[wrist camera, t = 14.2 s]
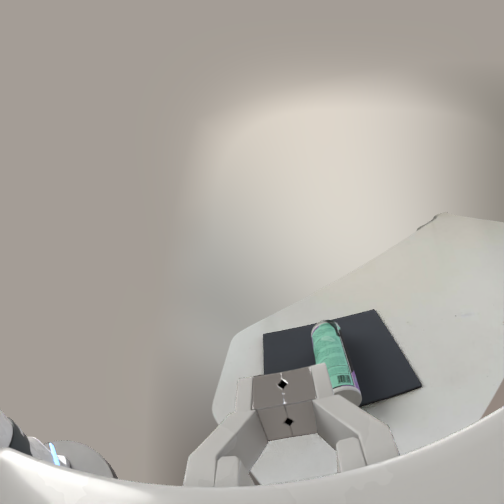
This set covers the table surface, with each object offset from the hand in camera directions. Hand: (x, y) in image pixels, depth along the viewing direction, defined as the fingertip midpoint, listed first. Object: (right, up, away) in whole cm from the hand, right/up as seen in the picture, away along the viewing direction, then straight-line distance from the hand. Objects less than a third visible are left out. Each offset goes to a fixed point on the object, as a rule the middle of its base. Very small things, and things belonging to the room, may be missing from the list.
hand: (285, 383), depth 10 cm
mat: (+13, -14, +39) cm, 43 cm away
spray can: (+11, -16, +25) cm, 32 cm away
